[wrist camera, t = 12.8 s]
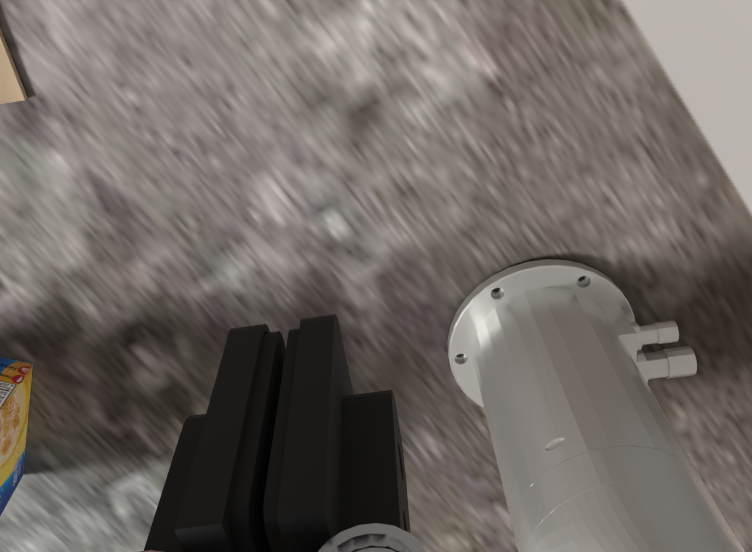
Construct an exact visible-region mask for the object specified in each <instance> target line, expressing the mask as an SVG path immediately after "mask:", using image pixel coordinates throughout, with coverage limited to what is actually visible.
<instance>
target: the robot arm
mask: <svg viewBox="0 0 752 552" xmlns="http://www.w3.org/2000/svg"><path fill="white" fill-rule="evenodd" d="M580 277H581V278H580ZM495 288H497V289H495ZM678 339H679V331H678V327H677V325H676V323H675V322H674V321H666V322H658V323H653V324H651V325H643V326H639V325H638V324H637V323H636V322H635V316H634V314H633V311H632V309H631V306H630V304H629V302H628V300H627V299H626V297H625V296H624V294H623V292H622V291H621V290H620V289H619V288H618V286H617V285H616V284H615V283H614V282H613V281H612V280H611V279H610V278H608V277H607V276H605V275H604V274H603V273H601V272H600V271H598V270H596V269H594V268H591V267H589V266H587V265H584V264H582V263H577V262H572V261H568V260H553V259H544V260H537V261H530V262H525V263H522V264H519V265H515V266H512V267H509V268H507V269H505V270H503V271H501V272H499V273H497V274H495V275H493V276H491V277H490V278H488V279H487V280H486V281H484V282H483V283H482V284H480V285H479V286H477V287H476V288H475V289H474V290H473V292H472V293H471V294H470V295H469V296H468V297H467V298H466V299H465V300H464V302H463V303H462V305H461V306H460V308H459V309H458V311H457V312H456V314H455V316H454V319H453V321H452V324H451V326H450V331H449V336H448V357H449V361H450V366H451V371H452V373H453V375H454V377H455V380H456V382H457V384H458V385H459V386H460V388H461V389H462V390H463V392H464V393H465V394H466V395H467V396H468V397H469V398H470V399H471V400H472V401H474V402H475V403H476V404H477V405H479V406H481V407H483V408H484V409H485V413H486V417H487V422H488V426H489V430H490V434H491V438H492V443H493V447H494V451H495V455H496V459H497V463H498V468H499V472H500V476H501V480H502V484H503V488H504V493H505V497H506V501H507V505H508V509H509V514H510V518H511V522H512V526H513V530H514V535H515V540H516V544H517V548H518V552H745V551H744V549H743V548H742V546H741V544H740V543H739V541H738V540H737V538H736V536H735V535H734V533H733V532H732V530H731V528H730V527H729V525H728V523H727V522H726V520H725V519H724V517H723V515H722V514H721V512H720V510H719V509H718V507H717V505H716V504H715V502H714V500H713V498H712V497H711V495H710V493H709V491H708V490H707V488H706V486H705V484H704V483H703V481H702V479H701V478H700V476H699V474H698V472H697V470H696V469H695V467H694V465H693V463H692V462H691V460H690V458H689V456H688V455H687V453H686V451H685V449H684V448H683V446H682V444H681V442H680V441H679V439H678V437H677V435H676V434H675V432H674V430H673V428H672V427H671V425H670V423H669V421H668V420H667V418H666V416H665V414H664V413H663V411H662V409H661V407H660V406H659V404H658V402H657V400H656V399H655V397H654V395H653V393H652V392H651V390H650V388H649V386H648V385H647V383H648V379H655V378H663V377H665V378H667V379H668V378H675V377H683V376H691V375H695V374H696V371H697V361H696V357H695V354H694V352H693V350H692V348H691V347H690V346H684V347H677V348H669V349H662V350H660V351H656V352H648V353H643V352H642V350H641V348H642V345H648V344H664V343H672V342H677V341H678ZM141 552H425V550H424V548H423V546H422V544H421V543H420V542H419V541H418V540H417V539H416V538H414V537H413V536H412V535H411V534H410V523H409V511H408V499H407V486H406V475H405V466H404V457H403V449H402V442H401V435H400V428H399V422H398V416H397V410H396V404H395V399H394V394H393V391H392V390H387V391H379V392H372V393H364V394H356V395H353V391H352V386H351V381H350V376H349V371H348V366H347V361H346V357H345V352H344V347H343V342H342V337H341V332H340V327H339V323H338V319H337V316H336V315H329V316H321V317H314V318H307V319H302V320H301V323H300V329H293V330H289V333H288V340H287V346H286V348H285V344H284V340H283V336H282V334H281V332H280V331H278V332H270V330H269V328H268V326H267V325H266V324H262V325H255V326H248V327H240V328H233V329H231V330H230V332H229V335H228V338H227V342H226V346H225V349H224V353H223V356H222V360H221V364H220V367H219V371H218V374H217V378H216V381H215V385H214V389H213V392H212V396H211V399H210V403H209V406H208V410H207V414H202V415H195V416H190V417H188V418H187V419H186V421H185V423H184V425H183V428H182V431H181V434H180V437H179V441H178V444H177V447H176V450H175V453H174V456H173V460H172V463H171V466H170V469H169V472H168V475H167V479H166V482H165V485H164V488H163V491H162V494H161V498H160V501H159V504H158V507H157V510H156V514H155V517H154V520H153V523H152V526H151V529H150V533H149V536H148V539H147V542H146V545H145V548H144V551H141Z"/></svg>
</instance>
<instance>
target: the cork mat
mask: <svg viewBox="0 0 752 552" xmlns="http://www.w3.org/2000/svg"><path fill="white" fill-rule="evenodd" d="M27 98H28V97H27V95H26V92H25V90H24V87H23V85H22V82H21V80H20V77H19V74H18V72H17V69H16V67H15V64H14V62H13V59H12V56H11V54H10V51H9V49H8V46H7V44H6V41H5V38H4V36H3V33H2V31H1V28H0V104H3V103H10V102H16V101H23V100H26V99H27Z"/></svg>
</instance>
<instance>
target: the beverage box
mask: <svg viewBox="0 0 752 552" xmlns="http://www.w3.org/2000/svg"><path fill="white" fill-rule="evenodd" d="M32 368H33V364H30V363H26V362H21V361H16V360H12V359H7V358H3V357H0V515H1V514H2V512H3V510H4V508H5V506H6V505H7V503H8V501H9V499H10V497H11V496H12V494H13V492H14V490H15V489H16V487H17V485H18V483H19V481H20V480H21V478H22V476H23V469H24V458H25V446H26V435H27V424H28V413H29V402H30V391H31V379H32Z"/></svg>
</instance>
